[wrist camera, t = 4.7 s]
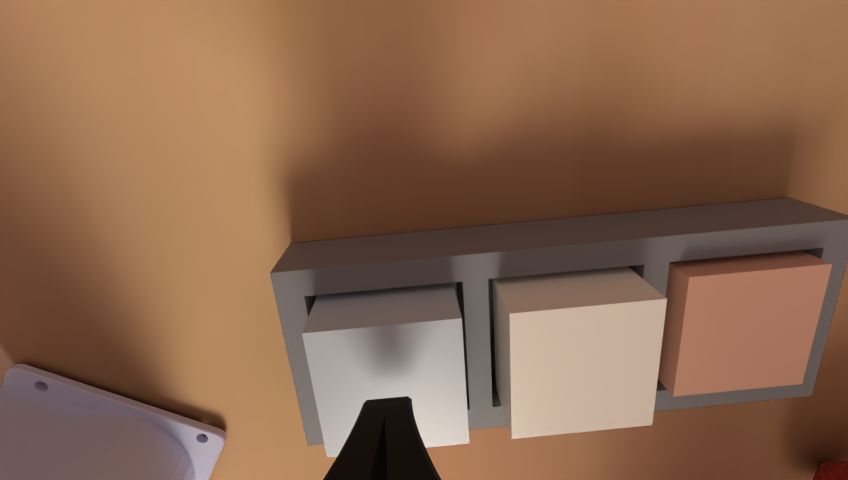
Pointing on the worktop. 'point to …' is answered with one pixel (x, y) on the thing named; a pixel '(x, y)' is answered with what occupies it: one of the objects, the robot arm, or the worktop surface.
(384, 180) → the worktop surface
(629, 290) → the cream key
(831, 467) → the onion
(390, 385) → the light gray key
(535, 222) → the key panel
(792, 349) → the terracotta key
